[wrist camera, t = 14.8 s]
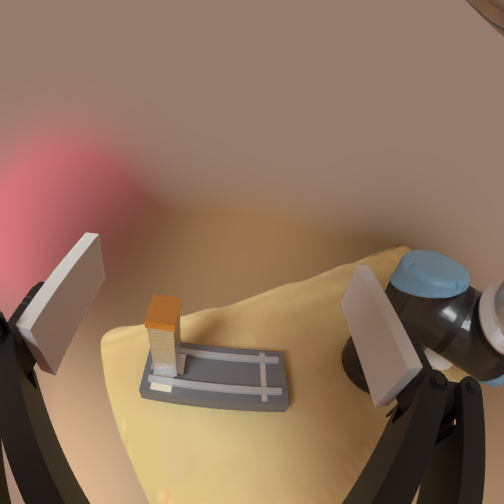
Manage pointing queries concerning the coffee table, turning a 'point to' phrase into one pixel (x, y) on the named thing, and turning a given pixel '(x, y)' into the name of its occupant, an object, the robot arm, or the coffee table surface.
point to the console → (222, 380)
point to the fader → (165, 335)
